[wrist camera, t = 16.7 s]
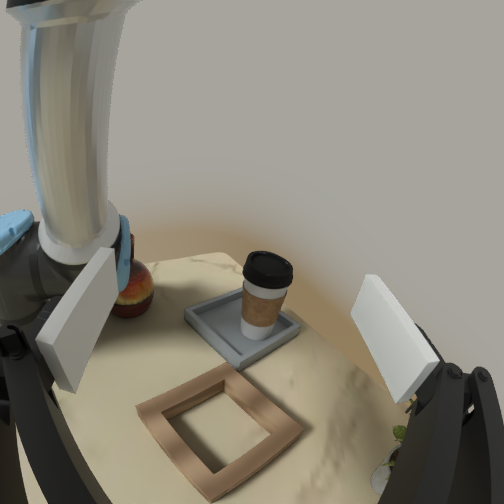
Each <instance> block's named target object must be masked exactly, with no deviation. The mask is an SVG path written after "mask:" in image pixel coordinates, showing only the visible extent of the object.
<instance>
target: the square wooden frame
mask: <svg viewBox="0 0 504 504" xmlns="http://www.w3.org/2000/svg"><path fill="white" fill-rule="evenodd" d="M222 390H223V391H224V392H225V393H226V394H227V395H228V396H229V397H231V398H232V399H233V400H234V401H235V402H236V403H237V404H238V405H239V406H240V407H241V408H242V409H243V410H244V411H245V412H246V413H247V414H248V415H250V416H251V417H252V418H253V419H254V420H255V421H256V422H257V423H258V424H260V425H261V426H262V427H263V428H264V429H265V430H266V431H268V432H269V433H270V434H271V435H270V436H268V437H267V438H266V439H264V440H263V441H262V442H260V443H259V444H258V445H256V446H255V447H254V448H252V449H251V450H250V451H248V452H247V453H245V454H244V455H243V456H241V457H240V458H238V459H237V460H235V461H234V462H232V463H231V464H229V465H228V466H226V467H225V468H223V469H222V470H220V471H219V472H217V473H215V474H213V473H212V472H211V471H210V470H209V469H208V468H207V467H206V466H205V465H204V464H203V462H202V461H201V460H200V459H199V458H198V457H197V456H196V455H195V454H194V453H193V451H192V450H191V449H190V448H189V447H188V446H187V444H186V443H185V442H184V441H183V440H182V439H181V437H180V436H179V435H178V434H177V433H176V431H175V430H174V429H173V428H172V426H171V425H170V424H169V422H168V421H167V420H168V419H170V418H172V417H174V416H176V415H178V414H180V413H182V412H184V411H186V410H188V409H190V408H192V407H193V406H195V405H197V404H199V403H201V402H203V401H205V400H206V399H208V398H210V397H212V396H213V395H215V394H217V393H219V392H221V391H222ZM136 409H137V412H138V415H139V417H140V419H141V420H142V422H143V423H144V425H145V426H146V428H147V429H148V430H149V432H150V433H151V435H152V436H153V437H154V439H155V440H156V441H157V443H158V444H159V445H160V447H161V448H162V449H163V451H164V452H165V453H166V454H167V456H168V457H169V458H170V459H171V461H172V462H173V463H174V464H175V466H176V467H177V468H178V469H179V470H180V471H181V473H182V474H183V475H184V476H185V477H186V478H187V479H188V481H189V482H190V483H191V484H192V485H193V486H194V487H195V488H196V489H197V490H198V491H199V493H200V494H201V495H202V496H203V497H204V498H205V499H206V500H207V501H208V502H209V503H210V504H211V503H213V502H214V501H216V500H217V499H219V498H220V497H222V496H224V495H225V494H227V493H228V492H230V491H231V490H233V489H234V488H235V487H237V486H238V485H240V484H241V483H243V482H244V481H245V480H247V479H248V478H250V477H251V476H252V475H254V474H255V473H256V472H258V471H259V470H260V469H262V468H263V467H264V466H265V465H267V464H268V463H269V462H270V461H272V460H273V459H274V458H275V457H277V456H278V455H279V454H280V453H281V452H283V451H284V450H285V449H286V448H287V447H288V446H290V445H291V444H292V443H293V442H294V441H295V440H296V439H297V438H299V436H300V435H301V433H302V432H303V430H304V428H303V427H302V426H301V425H299V424H298V423H297V422H296V421H294V420H293V419H292V418H291V417H289V416H288V415H287V414H286V413H284V412H283V411H282V410H281V409H279V408H278V407H277V406H276V405H275V404H273V403H272V402H271V401H270V400H269V399H268V398H266V397H265V396H264V395H263V394H262V393H261V392H259V391H258V390H257V389H256V388H255V387H254V386H253V385H251V384H250V383H249V382H248V381H247V380H246V379H245V378H244V377H243V376H241V375H240V374H239V373H238V372H237V371H236V370H235V369H234V368H233V367H232V366H231V365H230V364H229V363H227V362H225V363H223V364H222V365H220V366H218V367H216V368H214V369H212V370H210V371H208V372H206V373H204V374H202V375H200V376H198V377H196V378H194V379H192V380H190V381H188V382H186V383H184V384H182V385H180V386H178V387H176V388H174V389H172V390H170V391H167V392H165V393H163V394H161V395H159V396H157V397H154V398H152V399H150V400H148V401H145V402H143V403H141V404H139V405H136Z"/></svg>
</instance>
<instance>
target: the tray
mask: <svg viewBox="0 0 504 504" xmlns="http://www.w3.org/2000/svg"><path fill="white" fill-rule="evenodd" d="M242 289H243V287H242V288H239V289H237V290H234V291H231V292H229V293H226V294H224V295H221V296H218V297H216V298H213V299H210V300H208V301H205V302H202V303H199V304H197V305H194V306H191V307H189V308H186V309H184V319H185V320H186V321H187V322H188V323H189V324H190V325H191V326H192V327H193V328H194V329H195V330H196V331H197V332H198V334H199V335H200V336H201V337H202V338H203V339H204V340H205V341H206V342H207V343H208V344H209V345H211V346H212V347H213V348H214V349H215V350H216V351H217V352H218V353H219V354H220V355H221V356H222V357H223V358H224V359H225V360H226V361H227V362H228V363H229V364H230V365H231V366H232V367H234V368H235V369H236V370H237V371H238V372H239V371H240V370H242V369H244V368H246V367H247V366H249V365H251V364H252V363H254V362H256V361H257V360H259V359H260V358H262V357H264V356H265V355H267V354H268V353H270V352H272V351H273V350H275V349H276V348H278V347H280V346H281V345H283V344H284V343H286V342H287V341H289V340H290V339H292V338H293V337H295V336H296V335H298V333H299V330H300V327H301V324H299V323H298V322H296V321H295V320H293V319H292V318H290V317H289V316H288V315H286V314H285V313H283V312H282V311H280V312H279V314H278V317H277V319H276V321H275V324H274V327H273V329H272V332H271V334H270V336H269V337H268V338H267V339H265V340H261V341H256V340H251V339H249V338H247V337H245V336H244V335H243V334H242V332H241V329H240V326H241V309H242Z"/></svg>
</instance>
